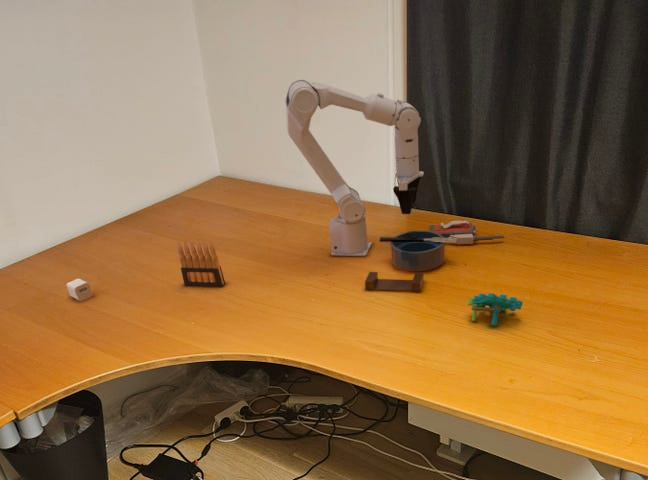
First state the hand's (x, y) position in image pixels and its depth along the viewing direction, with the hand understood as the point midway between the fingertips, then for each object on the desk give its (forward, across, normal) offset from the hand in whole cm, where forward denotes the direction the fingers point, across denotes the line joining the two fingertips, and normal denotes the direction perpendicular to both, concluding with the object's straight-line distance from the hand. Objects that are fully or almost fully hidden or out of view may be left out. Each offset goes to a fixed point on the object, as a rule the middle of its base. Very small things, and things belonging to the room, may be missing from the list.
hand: (408, 207), depth 160 cm
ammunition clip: (+10, -28, +48) cm, 56 cm away
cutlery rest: (+9, -26, 0) cm, 27 cm away
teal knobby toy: (+10, -38, -24) cm, 46 cm away
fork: (+4, -12, -5) cm, 13 cm away
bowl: (+9, -12, -4) cm, 16 cm away
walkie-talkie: (+10, +2, -14) cm, 17 cm away
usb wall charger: (+10, -36, +80) cm, 88 cm away
